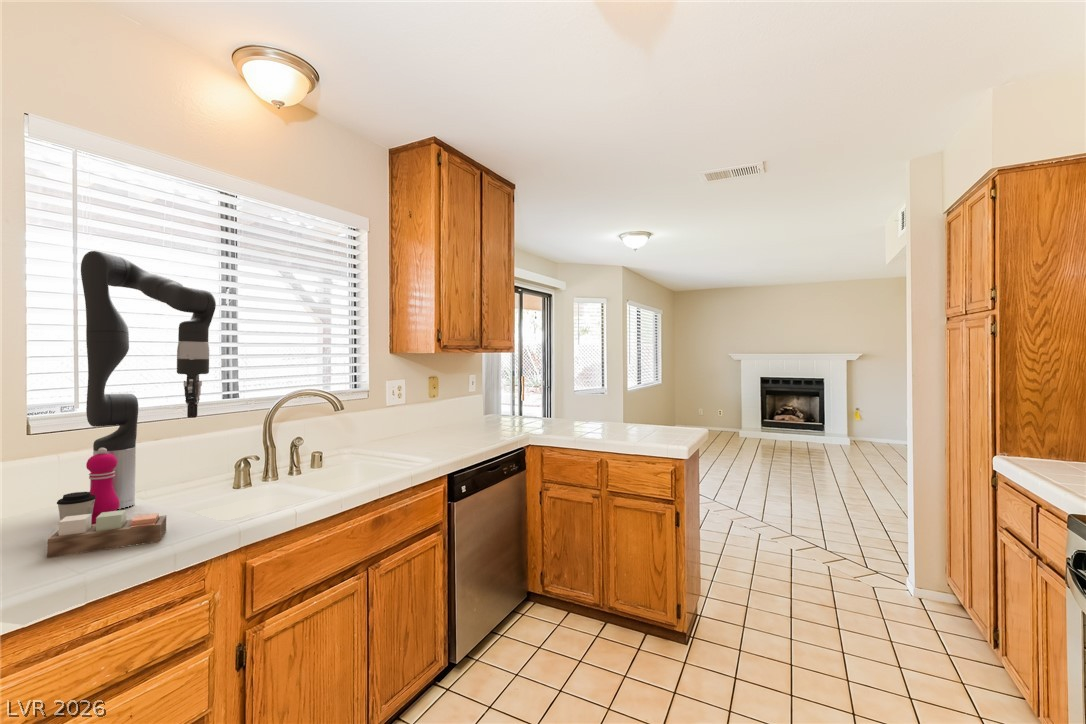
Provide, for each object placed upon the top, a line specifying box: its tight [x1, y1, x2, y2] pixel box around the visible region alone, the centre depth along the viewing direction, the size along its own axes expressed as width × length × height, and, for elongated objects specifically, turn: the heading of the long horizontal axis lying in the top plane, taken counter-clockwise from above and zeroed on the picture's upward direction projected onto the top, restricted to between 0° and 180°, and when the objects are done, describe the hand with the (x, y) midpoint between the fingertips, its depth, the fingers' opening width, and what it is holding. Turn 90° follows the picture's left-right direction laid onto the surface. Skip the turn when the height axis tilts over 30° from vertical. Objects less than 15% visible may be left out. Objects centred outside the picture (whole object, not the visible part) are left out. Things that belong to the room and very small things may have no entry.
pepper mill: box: [85, 448, 120, 524], centre depth 125 cm, size 7×7×20 cm
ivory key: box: [58, 514, 92, 536], centre depth 108 cm, size 4×4×4 cm
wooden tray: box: [46, 514, 167, 558], centre depth 111 cm, size 19×8×4 cm, turn 121°
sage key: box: [96, 509, 127, 531], centre depth 111 cm, size 4×4×4 cm
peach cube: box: [131, 512, 160, 526], centre depth 114 cm, size 4×4×4 cm
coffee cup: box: [56, 491, 96, 522], centre depth 116 cm, size 7×7×10 cm
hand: (192, 417), depth 136 cm, fingers closed
